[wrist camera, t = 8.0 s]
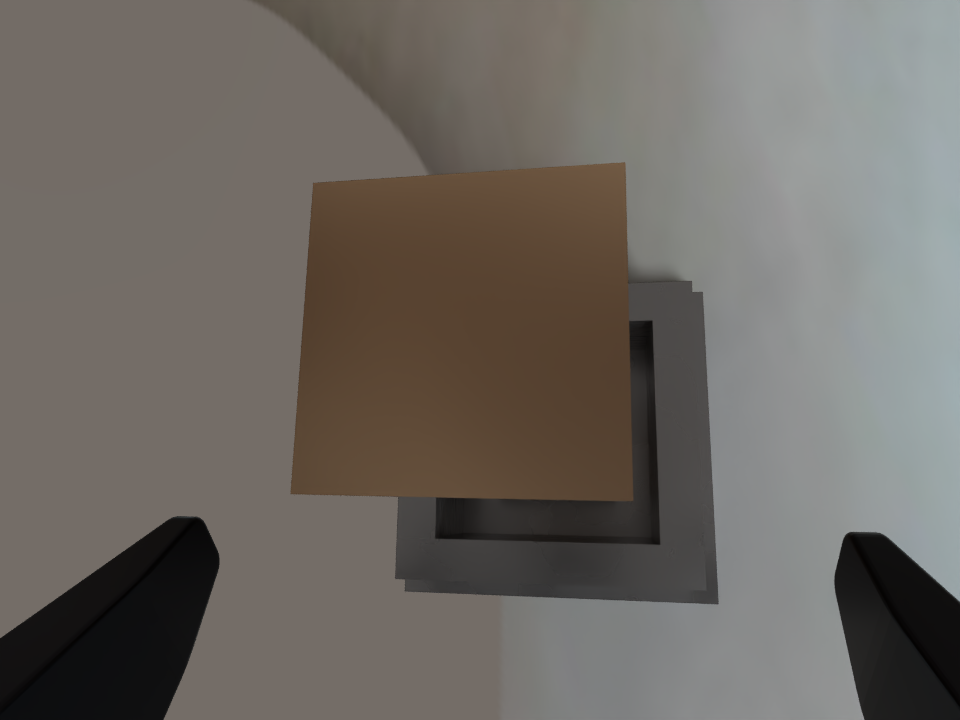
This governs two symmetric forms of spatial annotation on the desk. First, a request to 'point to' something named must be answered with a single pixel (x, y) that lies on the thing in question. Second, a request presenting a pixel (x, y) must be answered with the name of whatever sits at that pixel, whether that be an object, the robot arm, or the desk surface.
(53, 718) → the robot arm
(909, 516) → the desk surface
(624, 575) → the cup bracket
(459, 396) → the block
